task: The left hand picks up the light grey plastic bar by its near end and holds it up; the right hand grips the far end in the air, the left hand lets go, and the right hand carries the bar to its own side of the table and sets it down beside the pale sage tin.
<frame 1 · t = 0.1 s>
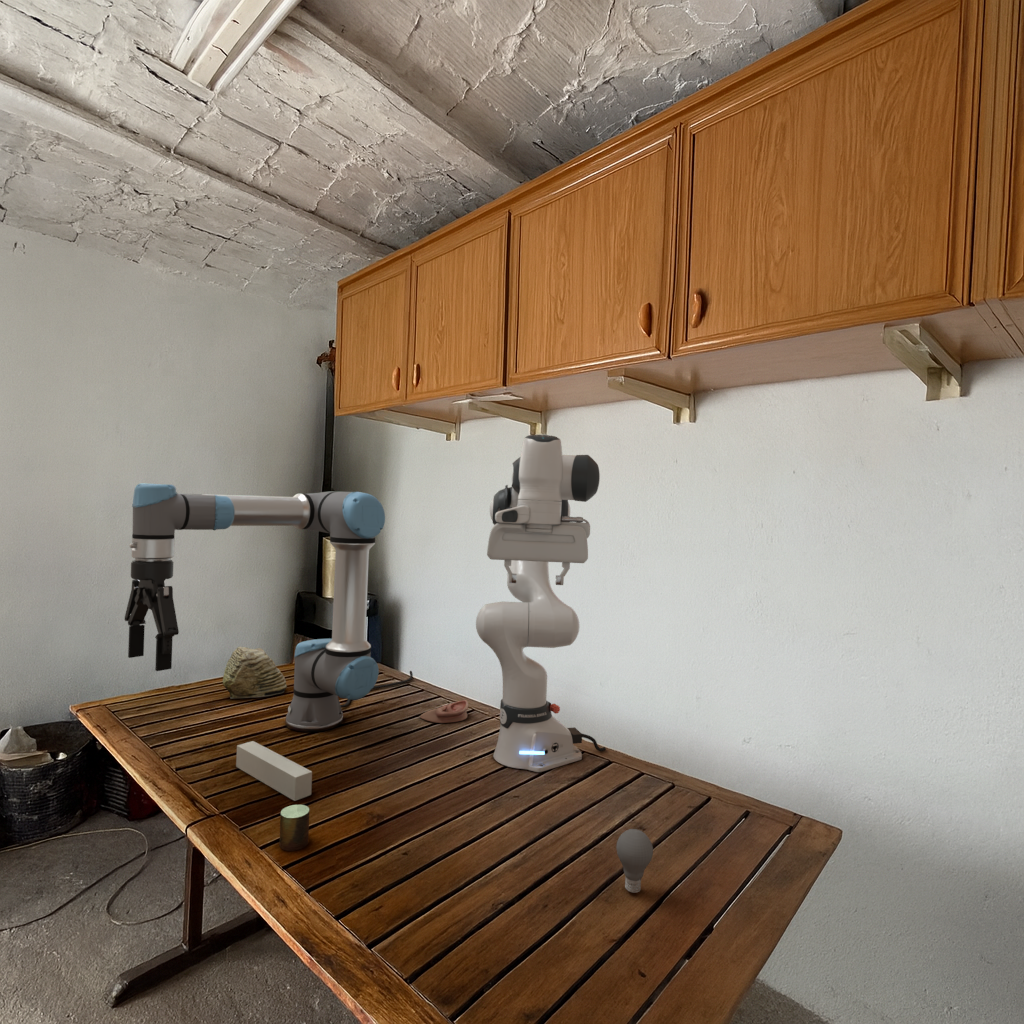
left hand: (149, 663, 129), 28 cm above the table, fingers open, 13 cm apart
right hand: (535, 583, 127), 48 cm above the table, fingers open, 8 cm apart
sage tin: (293, 843, 116), on the table
fossil: (254, 694, 198), on the table
light bulb: (632, 891, 106), on the table
anatomical model: (444, 717, 185), on the table
bar: (272, 780, 140), on the table
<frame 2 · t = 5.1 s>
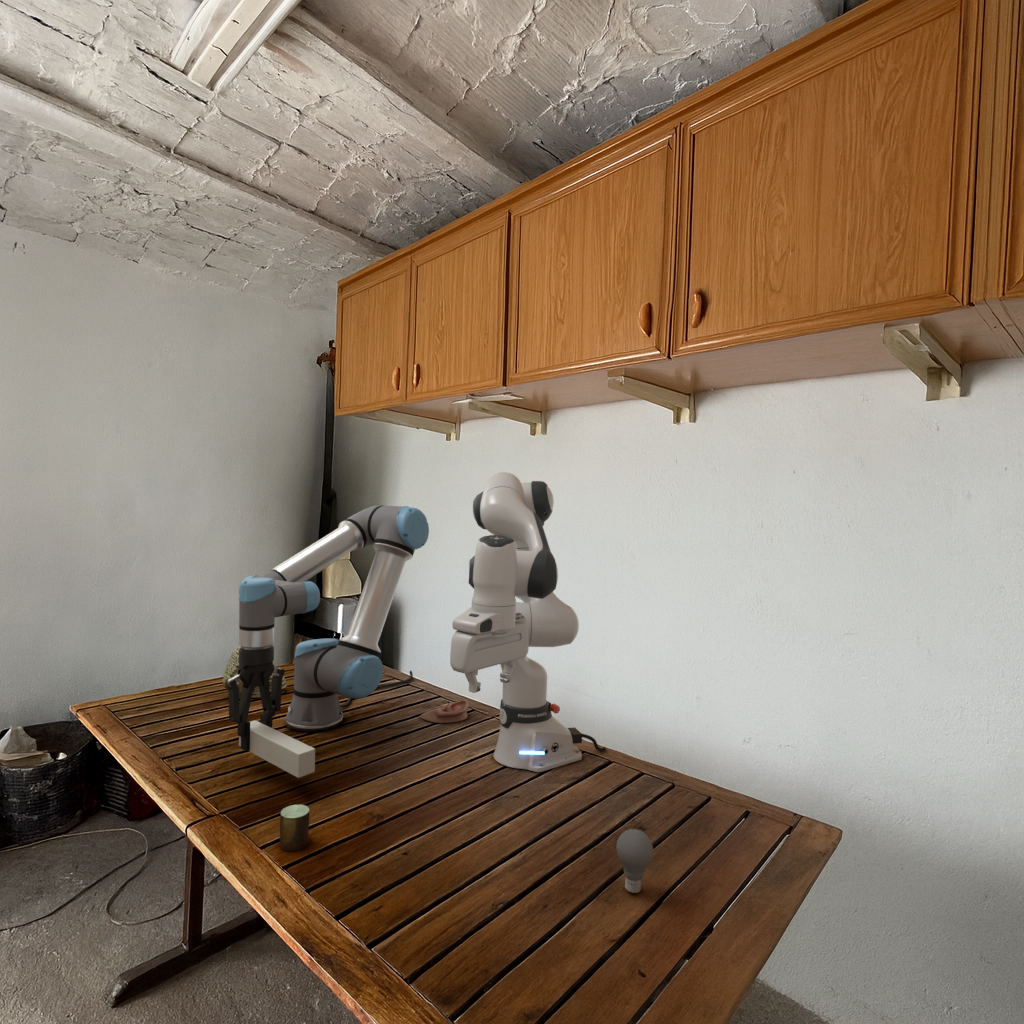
left hand: (255, 746, 146), 5 cm above the table, fingers closed on bar, 4 cm apart
right hand: (490, 686, 126), 27 cm above the table, fingers open, 8 cm apart
bar: (275, 758, 141), point 5 cm above the table, touching left hand
everything else where it was.
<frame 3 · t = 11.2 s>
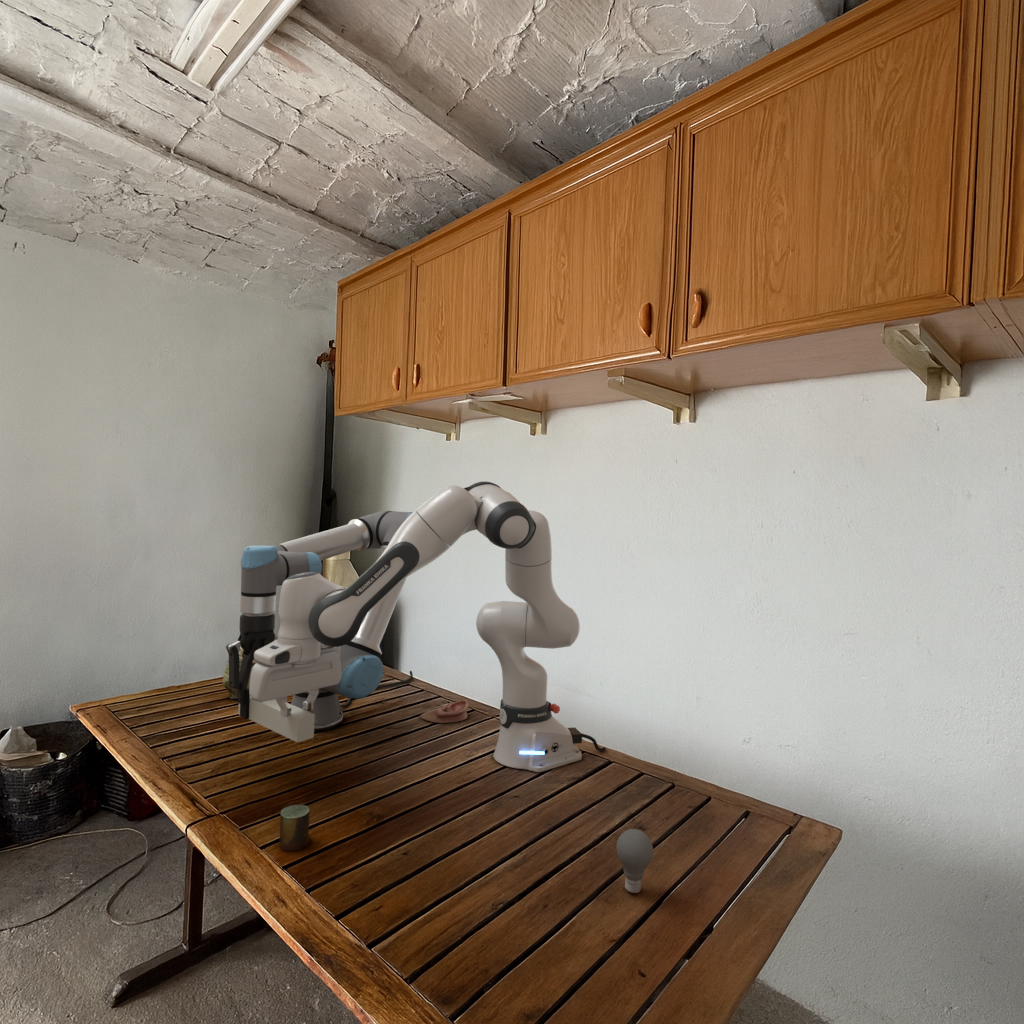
left hand: (254, 714, 146), 13 cm above the table, fingers closed on bar, 4 cm apart
right hand: (296, 713, 135), 17 cm above the table, fingers closed on bar, 4 cm apart
bar: (274, 725, 140), point 12 cm above the table, touching left hand, right hand
everything else where it was.
when the left hand's fingers open (13 cm above the table, at t = 12.0 s): bar stays where it is, held by the right hand.
when the right hand's fingers open (4 cm above the table, at t = 18.9 s): bar stays where it is, on the table.
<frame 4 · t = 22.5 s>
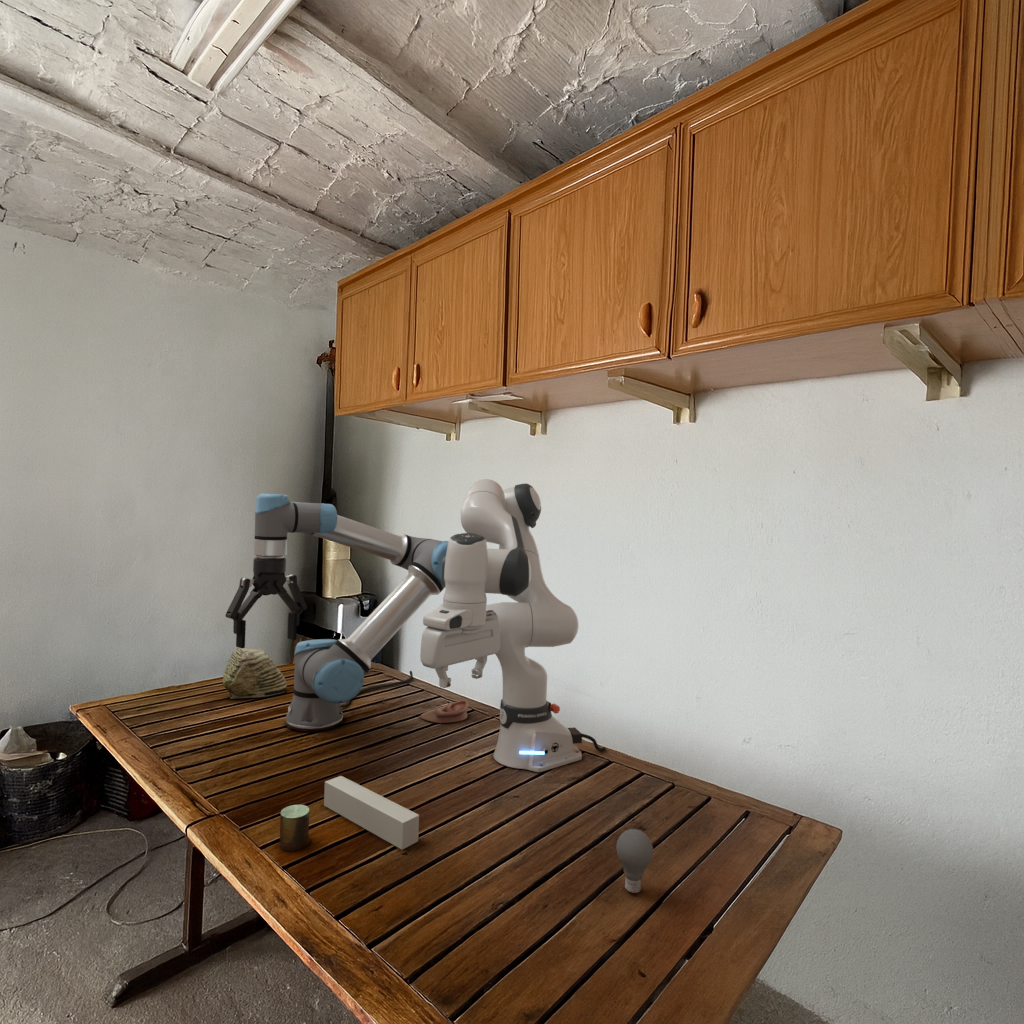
left hand: (266, 643, 155), 27 cm above the table, fingers open, 13 cm apart
right hand: (461, 682, 128), 27 cm above the table, fingers open, 8 cm apart
bar: (368, 822, 124), on the table
everything else where it was.
at the end: bar inside the target area (0.6 cm from its centre), on the table; both hands held the bar at the same time; the left hand is holding nothing; the right hand is holding nothing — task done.
